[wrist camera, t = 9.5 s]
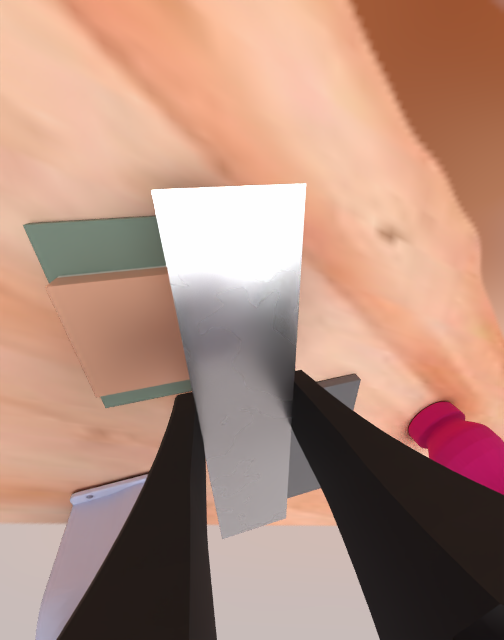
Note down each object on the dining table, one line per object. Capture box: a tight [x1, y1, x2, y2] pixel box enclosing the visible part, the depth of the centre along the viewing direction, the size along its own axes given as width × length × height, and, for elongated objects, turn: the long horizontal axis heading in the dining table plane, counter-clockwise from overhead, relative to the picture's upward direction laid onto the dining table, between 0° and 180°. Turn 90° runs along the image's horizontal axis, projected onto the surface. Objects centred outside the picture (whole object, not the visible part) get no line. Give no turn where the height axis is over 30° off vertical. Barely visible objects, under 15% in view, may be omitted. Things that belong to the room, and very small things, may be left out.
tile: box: [45, 265, 190, 397], centre depth 15 cm, size 2×7×8 cm
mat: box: [23, 216, 192, 408], centre depth 16 cm, size 11×12×1 cm
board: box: [287, 374, 361, 498], centre depth 26 cm, size 9×17×1 cm, turn 2°
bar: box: [151, 184, 306, 539], centre depth 12 cm, size 4×16×5 cm, turn 2°
